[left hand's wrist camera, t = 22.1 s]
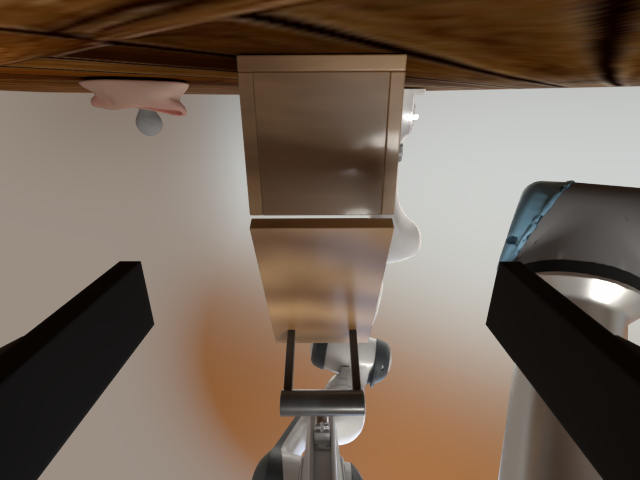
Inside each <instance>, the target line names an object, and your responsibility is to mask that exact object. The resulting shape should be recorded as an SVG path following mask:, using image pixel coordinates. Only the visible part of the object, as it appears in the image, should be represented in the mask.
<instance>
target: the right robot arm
mask: <svg viewBox="0 0 640 480" xmlns="http://www.w3.org/2000/svg"><path fill="white" fill-rule="evenodd" d="M425 92H426V89H404V97H403V110H402V122H401V134H400V146H399V159H398V171H397V183H396V195H395V208H394V214H393V215H369V218H392V219H393V224H394V231H393V236H392V240H391V244H390V249H389V253H388V258H387V262H386V263H393V262H399V261H402V260H405V259H408V258H410V257H413V256H415V255H416V254H417V252H418V251H419V248H420V245H421V233H420V231H419V228H418V226H417V225H416V224H415V223H414V222H413V221H412V220H411V219H409V218H408V217H407V216H406V215H405V213H404V212H403V210H402V208H401V206H400V202H399V198H398V172H399V162H400V161H401V159H402V155H403V151H402V150H403V144H402V141H403V140H404V138H405V137H407V136H408V135H409V134H410V133H411V129H412V125H413V119H418V115H414V109H415V104H414V103H415V95H422V94H425ZM382 290H383V280H382V284H381V288H380V293H379V297H378V301H377V306H376V310H375V314H374V319H373V322H374V320H375V317H376V315H377V312H378V308H379V304H380V299H381V295H382ZM372 324H373V323H372ZM310 355H311V361H312V363H313V365H315V366H316V367H318V368H321V369H327V370H329V371H333V372H336V373H339V374H336V375H335V376H333V377H332V378H331V379H330V381H329V382H328V383H327V385H326V387H325V389H352V378H351V361H350V360H349V359H350V344H349V343H311V346H310ZM358 356H359V368H360V381H361V389H362V390H363V391H364V388H365V385H366V384H369V383H370V387H373V386H374V383H377V382H380V381H381V380H382V379H384V378H385V377H386V375H387V373H388V371H389V369H390V367H391V363H392V355H391V351H390V347H389V345H388V343H386V342H384V341H382V340H380V339H373V338H370V337H369V341H368V343H358ZM348 365H349V367H348ZM364 397H365V396H364ZM365 412H366V405H365ZM364 420H365V415H364V416H296V417H295V418H294V419H293V421H292V422H291V424H290V425H289V426H288V428H287V429H286V431H285V432H284V434H283V435H282V436H281V438H280V439H279V441H278V442H277V444H276V445H275V446H274V448H273V449H272V450H271V451H270V452H268V453H267V454H266V455H265V456H264V457H263V458H262V459H261V461H260V462H259V464H258V465H257V467H256V469H255V472H254V475H253V478H252V480H363V479H362V477H361V475H360V473H359V472H358V470H357V469H356V468H355V466H354V465H353V464H352V463H348V462H344V461H343V457H342V456H340V453H339V445H343V444H347V443H349V442H351V441H353V440H354V439H355V438H356V437H357V436H358V435H359V434H360V432H361V430H362V428H363V425H364ZM304 450H305V455H304V456H301V454H302V453H303V451H304Z"/></svg>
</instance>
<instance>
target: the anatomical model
mask: <svg viewBox="0 0 640 480" xmlns="http://www.w3.org/2000/svg"><path fill="white" fill-rule="evenodd" d="M79 84H80V85H81V86H83V87H84V88H86V89H88V90H90V91H92V92H93V93H94V94H95V95H94V97H93V98H92V99H91V104H92V105H93V106H94V107H98V108H105V109H109V110H119V109H125V108H140V109H146V110H151V111H157V112H161V113H166V114H170V115H175V116H185V115H186V114H187V111H186V108H185V107H184V106H183V105H182V103H181V102H180V97H181V96H182V95H183V93H184V92H185V91H186V90H187V89H188V87H189V84H187V83H183V82H176V81H158V80H126V79H93V80H84V81H80V82H79Z"/></svg>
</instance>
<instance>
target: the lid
mask: <svg viewBox="0 0 640 480" xmlns="http://www.w3.org/2000/svg"><path fill="white" fill-rule="evenodd" d="M250 231H251V236H252V240H253V244H254V249H255V253H256V257H257V262H258V266H259V270H260V274H261V279H262V283H263V287H264V292H265V296H266V301H267V305H268V309H269V314H270V318H271V322H272V327H273V331H274V335H275V340H276V343H287V348H286V362H285V377H284V390H282V391H281V396H280V415H281V416H364V415H365V397H364V391H363V390H362V389H361V381H360V368H359V356H358V343H368V341H369V336H370V332H371V328H372V323H373V319H374V314H375V310H376V306H377V301H378V297H379V293H380V288H381V284H382V279H383V275H384V271H385V266H386V262H387V258H388V253H389V249H390V244H391V240H392V236H393V231H394V224H393V219H392V218H302V219H252V220H251V225H250ZM295 343H349V344H350V361H351V378H352V389H321V390H320V389H319V390H318V389H317V390H315V389H313V390H312V389H311V390H293V371H294V352H295Z"/></svg>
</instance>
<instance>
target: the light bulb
mask: <svg viewBox="0 0 640 480" xmlns="http://www.w3.org/2000/svg"><path fill="white" fill-rule="evenodd" d="M136 126H137V128H138V129H139V130H140V131H141V132H142V133H143V134H145V135H149V136H153V135H156V134H158V133H159V132H160V131H161V129H162V126H163V125H162V120H161V118H160V117H159V115H158V114H157V113H156V111H151V110H146V109H140V108H139V112H138V115H137V117H136Z"/></svg>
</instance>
